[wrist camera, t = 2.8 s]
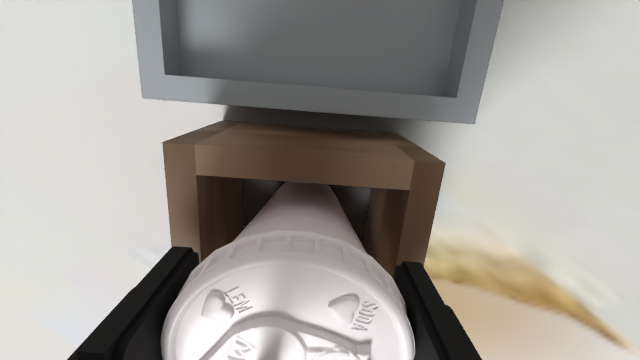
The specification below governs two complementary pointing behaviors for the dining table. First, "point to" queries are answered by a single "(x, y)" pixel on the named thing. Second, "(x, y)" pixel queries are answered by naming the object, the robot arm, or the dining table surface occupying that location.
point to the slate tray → (320, 54)
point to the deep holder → (301, 166)
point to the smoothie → (290, 291)
